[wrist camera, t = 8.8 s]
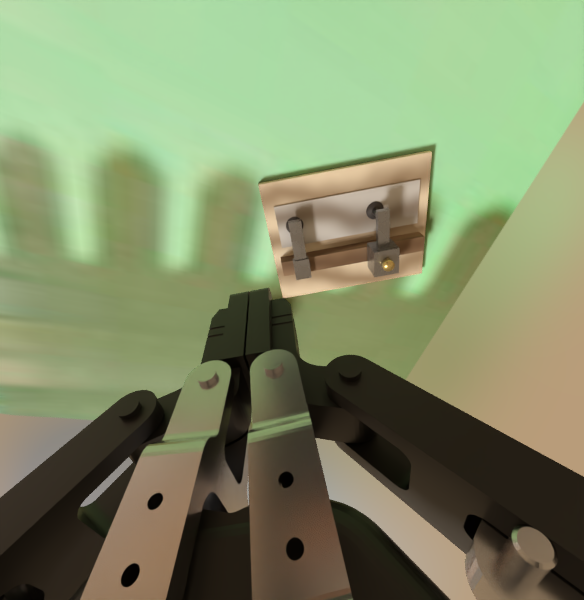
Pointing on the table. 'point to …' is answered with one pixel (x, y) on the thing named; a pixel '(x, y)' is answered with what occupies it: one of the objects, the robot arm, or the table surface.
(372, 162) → the wooden slider puzzle board
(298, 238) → the bar
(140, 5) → the table surface
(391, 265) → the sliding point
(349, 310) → the table surface
